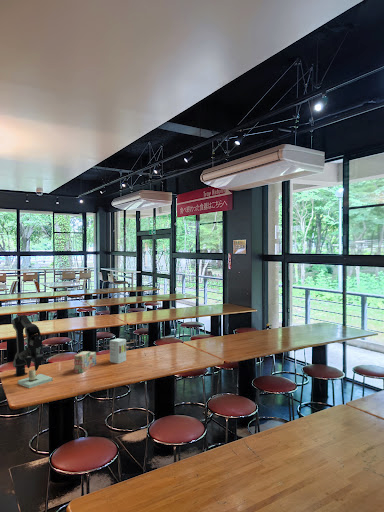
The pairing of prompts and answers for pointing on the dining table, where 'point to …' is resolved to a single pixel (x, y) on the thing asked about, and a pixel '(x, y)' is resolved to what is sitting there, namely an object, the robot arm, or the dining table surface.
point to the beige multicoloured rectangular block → (84, 361)
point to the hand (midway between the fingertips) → (32, 369)
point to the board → (39, 380)
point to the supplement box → (118, 350)
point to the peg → (32, 375)
